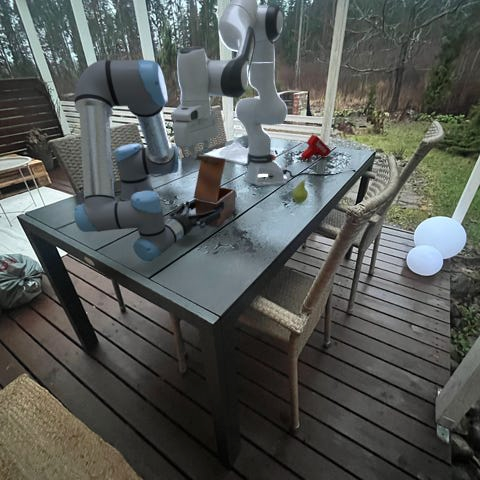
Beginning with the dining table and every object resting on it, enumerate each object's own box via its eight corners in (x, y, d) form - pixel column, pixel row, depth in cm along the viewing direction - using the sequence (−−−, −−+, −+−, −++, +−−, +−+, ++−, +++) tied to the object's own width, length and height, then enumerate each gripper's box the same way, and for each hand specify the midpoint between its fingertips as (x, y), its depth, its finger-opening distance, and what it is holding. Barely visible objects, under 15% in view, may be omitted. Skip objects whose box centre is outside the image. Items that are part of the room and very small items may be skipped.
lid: (203, 156, 101) (190, 149, 93) (225, 159, 97) (214, 152, 90) (194, 198, 103) (182, 195, 95) (216, 203, 99) (205, 200, 91)
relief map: (245, 164, 167) (245, 156, 164) (203, 155, 185) (203, 148, 182) (268, 154, 185) (268, 147, 183) (228, 147, 203) (228, 140, 200)
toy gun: (302, 156, 169) (316, 135, 166) (298, 155, 172) (312, 134, 169) (317, 170, 180) (331, 150, 177) (313, 169, 183) (326, 149, 180)
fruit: (288, 200, 123) (290, 174, 116) (302, 197, 125) (305, 172, 119) (296, 206, 118) (299, 179, 111) (310, 203, 120) (314, 177, 114)
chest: (216, 205, 119) (215, 185, 114) (235, 209, 115) (235, 189, 110) (196, 220, 108) (194, 199, 103) (217, 226, 104) (216, 204, 99)
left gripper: (151, 230, 95) (189, 206, 111) (205, 246, 86) (237, 216, 103) (147, 211, 91) (187, 188, 107) (203, 225, 82) (236, 198, 99)
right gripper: (205, 105, 92) (208, 147, 100) (167, 114, 77) (174, 162, 85) (222, 106, 90) (223, 149, 98) (185, 115, 75) (190, 165, 82)
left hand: (211, 202), depth 105 cm, fingers closed on chest, 10 cm apart
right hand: (200, 155), depth 91 cm, fingers open, 5 cm apart
